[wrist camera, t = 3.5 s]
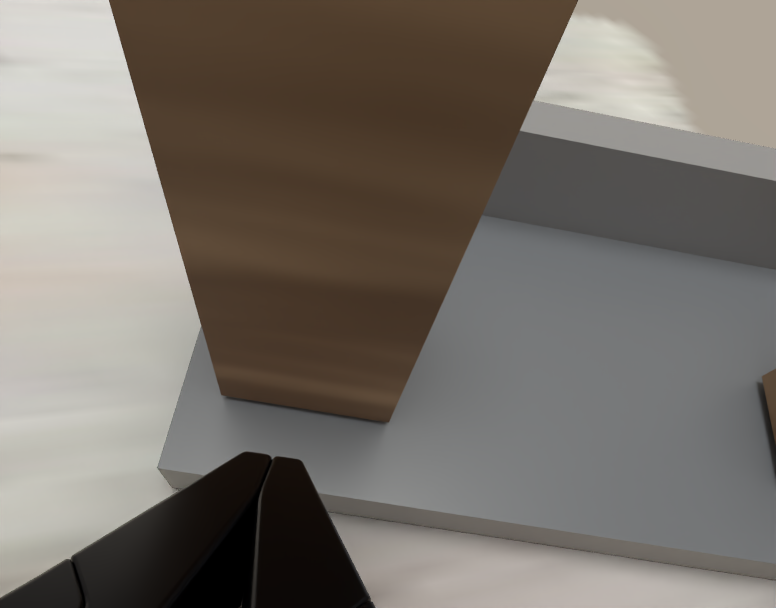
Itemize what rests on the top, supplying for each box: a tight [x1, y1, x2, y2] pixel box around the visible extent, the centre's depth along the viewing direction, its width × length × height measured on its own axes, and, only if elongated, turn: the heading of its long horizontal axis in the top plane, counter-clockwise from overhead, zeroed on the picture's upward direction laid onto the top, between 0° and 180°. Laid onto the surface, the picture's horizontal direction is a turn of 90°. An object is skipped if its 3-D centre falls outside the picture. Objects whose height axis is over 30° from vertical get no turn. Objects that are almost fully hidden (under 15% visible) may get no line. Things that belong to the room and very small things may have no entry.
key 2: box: [109, 0, 578, 423], centre depth 10 cm, size 3×4×12 cm
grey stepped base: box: [157, 100, 776, 580], centre depth 16 cm, size 10×20×6 cm, turn 83°
